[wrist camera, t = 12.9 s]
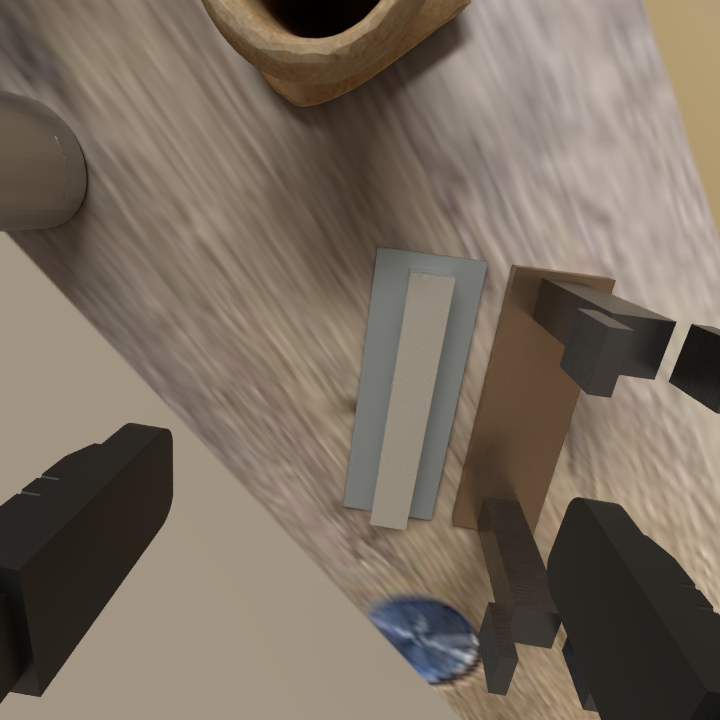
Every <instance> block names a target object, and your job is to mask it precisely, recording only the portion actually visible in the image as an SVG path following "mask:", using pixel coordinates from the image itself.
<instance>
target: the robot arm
mask: <svg viewBox="0 0 720 720" xmlns="http://www.w3.org/2000/svg"><path fill="white" fill-rule="evenodd" d="M85 190H86V168H85V162H84V158H83V155H82V152H81V149H80V147H79V144H78V142H77V140H76V139H75V137H74V135H73V133H72V132H71V130H70V129H69V128H68V126H67V125H66V124H65V123H64V121H63V120H62V119H61V118H60V117H59V116H58V115H57V114H55V113H54V112H53V111H52V110H51V109H50V108H48V107H46V106H45V105H43V104H41V103H40V102H38V101H36V100H33V99H30V98H27V97H25V96H21V95H18V94H14V93H11V92H7V91H4V90H0V231H16V230H31V229H44V228H53V227H56V226H59V225H62V224H64V223H65V222H66V221H68V220H69V219H71V218H72V217H73V215H74V214H75V213H76V212H77V211H78V209H79V207H80V205H81V203H82V201H83V199H84V194H85ZM172 498H173V440H172V434H171V432H170V430H169V429H165V428H159V427H153V426H147V425H140V424H135V423H128V424H126V425H124V426H123V427H122V428H120V429H119V430H118V431H117V432H116V433H114V434H113V435H112V436H111V437H110V438H108V439H107V440H106V441H105V442H103V443H102V444H96V443H95V444H92V445H90V446H87V447H85V448H83V449H81V450H78V451H76V452H74V453H72V454H69V455H67V456H65V457H64V458H62V459H61V460H60V461H58V462H57V463H56V464H54V465H53V466H52V467H51V468H49V469H48V470H47V471H45V472H44V473H43V474H42V476H41V478H36V479H35V480H34V481H33V482H31V483H30V484H29V485H27V486H26V487H25V488H23V489H22V492H21V494H16V495H14V496H13V497H12V498H11V499H9V500H8V501H7V502H5V503H4V504H3V505H1V506H0V703H1V702H2V701H3V699H4V698H5V697H6V696H7V694H8V693H9V692H14V693H20V694H25V695H31V696H37V697H41V696H42V694H43V693H44V691H45V690H46V688H47V687H48V686H49V684H50V683H51V681H52V680H53V679H54V677H55V676H56V674H57V673H58V672H59V670H60V669H61V667H62V666H63V665H64V663H65V662H66V660H67V659H68V658H69V656H70V655H71V653H72V652H73V651H74V649H75V648H76V646H77V645H78V644H79V642H80V641H81V639H82V638H83V637H84V635H85V634H86V632H87V631H88V630H89V628H90V627H91V625H92V624H93V622H94V621H95V620H96V618H97V617H98V616H99V614H100V613H101V611H102V610H103V609H104V607H105V606H106V604H107V603H108V602H109V600H110V599H111V597H112V596H113V595H114V593H115V592H116V590H117V589H118V587H119V586H120V585H121V583H122V582H123V580H124V579H125V578H126V576H127V575H128V573H129V572H130V571H131V569H132V568H133V566H134V565H135V564H136V562H137V561H138V559H139V558H140V556H141V555H142V554H143V552H144V551H145V550H146V548H147V547H148V545H149V544H150V543H151V541H152V540H153V538H154V537H155V536H156V534H157V533H158V531H159V530H160V529H161V527H162V526H163V524H164V522H165V520H166V518H167V516H168V513H169V511H170V507H171V504H172ZM547 582H548V587H549V591H550V594H551V596H552V599H553V601H554V604H555V606H556V609H557V611H558V614H559V616H560V619H561V621H562V624H563V626H564V629H565V631H566V634H567V636H568V639H569V641H570V644H571V646H572V648H573V651H574V653H575V656H576V658H577V661H578V663H579V666H580V668H581V671H582V673H583V676H584V678H585V681H586V683H587V686H588V688H589V691H590V693H591V696H592V698H593V701H594V703H595V705H596V708H597V710H598V713H599V715H600V718H601V720H720V615H719V614H718V613H714V611H713V606H712V605H711V604H710V602H709V601H708V600H707V599H706V597H705V596H704V595H703V594H702V592H701V591H700V590H696V588H695V583H694V582H693V581H692V580H691V578H690V577H689V576H688V575H687V573H686V572H685V571H684V570H683V568H682V567H681V566H680V565H679V563H678V562H677V561H676V559H675V558H673V557H672V556H671V555H670V554H669V553H667V552H666V551H665V550H664V549H662V548H661V547H660V546H659V545H658V544H656V543H655V542H654V541H653V540H652V539H650V538H649V537H648V536H646V535H643V534H642V532H641V531H640V530H639V528H638V527H637V526H636V524H635V523H634V522H633V520H632V519H631V518H630V516H629V515H628V514H627V512H626V511H625V510H624V509H623V507H622V506H620V505H619V504H616V503H610V502H604V501H598V500H592V499H586V498H580V497H577V498H574V499H573V500H572V501H571V502H570V504H569V505H568V508H567V510H566V513H565V516H564V518H563V521H562V523H561V526H560V529H559V531H558V534H557V537H556V539H555V542H554V545H553V547H552V550H551V552H550V555H549V558H548V563H547Z"/></svg>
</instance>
